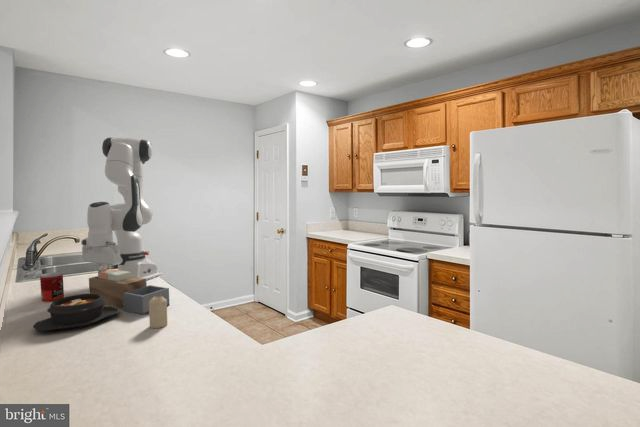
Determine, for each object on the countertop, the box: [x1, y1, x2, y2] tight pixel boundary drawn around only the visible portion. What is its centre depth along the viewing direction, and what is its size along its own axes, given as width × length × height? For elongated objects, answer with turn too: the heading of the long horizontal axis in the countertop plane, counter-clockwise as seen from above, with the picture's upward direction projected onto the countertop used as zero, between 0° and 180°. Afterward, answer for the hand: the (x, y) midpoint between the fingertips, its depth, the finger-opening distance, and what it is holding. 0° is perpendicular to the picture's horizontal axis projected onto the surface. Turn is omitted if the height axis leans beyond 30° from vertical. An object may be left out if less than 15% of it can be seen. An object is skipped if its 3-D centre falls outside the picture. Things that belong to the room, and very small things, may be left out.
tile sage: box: [108, 271, 131, 281], centre depth 150 cm, size 6×6×2 cm
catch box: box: [123, 284, 170, 316], centre depth 143 cm, size 12×11×7 cm
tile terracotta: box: [97, 268, 121, 280], centre depth 152 cm, size 6×6×2 cm
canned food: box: [39, 271, 65, 303], centre depth 156 cm, size 8×8×11 cm
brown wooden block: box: [88, 275, 147, 310], centre depth 151 cm, size 9×23×10 cm, turn 64°
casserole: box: [32, 293, 119, 332], centre depth 128 cm, size 25×19×8 cm
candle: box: [148, 296, 168, 329], centre depth 125 cm, size 6×6×10 cm
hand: (102, 273), depth 154 cm, fingers closed
